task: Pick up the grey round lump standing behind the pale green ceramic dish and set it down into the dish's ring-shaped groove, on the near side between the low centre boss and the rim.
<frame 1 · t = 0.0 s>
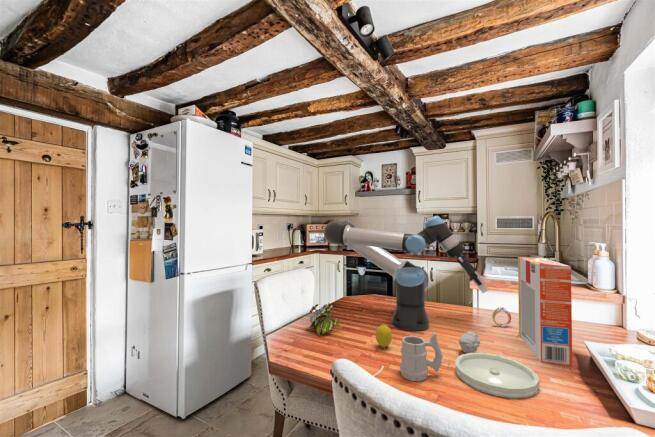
hand: (484, 288, 126), 15 cm above the table, tool tilted 35°, fingers open, 13 cm apart
ring: (501, 327, 123), on the table
grey round lump: (469, 353, 98), on the table
cereal box: (542, 349, 101), on the table
leafy green plant: (324, 330, 120), on the table
groove dish: (494, 377, 83), on the table
mug: (421, 375, 84), on the table
lemon: (383, 348, 103), on the table
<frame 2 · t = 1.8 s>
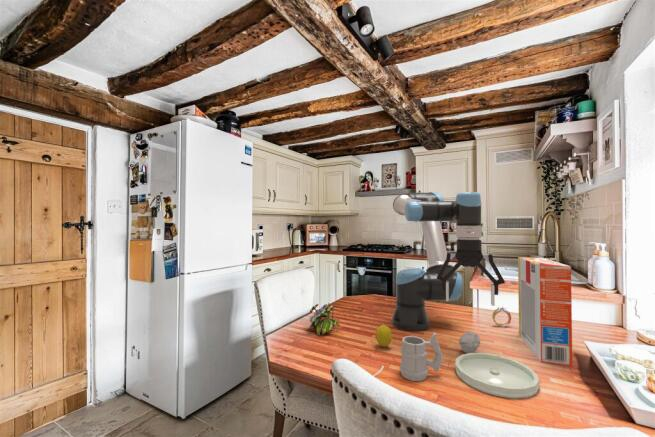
hand: (469, 302, 98), 17 cm above the table, tool pointing down, fingers open, 13 cm apart
nothing on the table moved.
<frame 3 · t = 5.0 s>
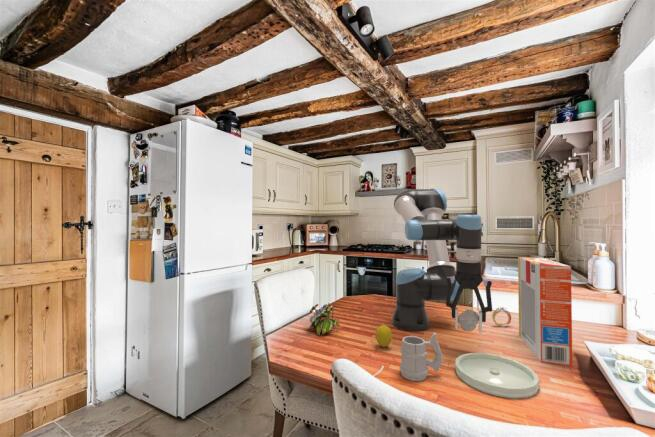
hand: (468, 329, 99), 8 cm above the table, tool pointing down, fingers closed on grey round lump, 6 cm apart
grey round lump: (468, 331, 99), point 7 cm above the table, touching gripper
everything else where it was.
when the fingers open (2 cm above the table, at t = 9.5 s): grey round lump stays where it is, resting on groove dish.
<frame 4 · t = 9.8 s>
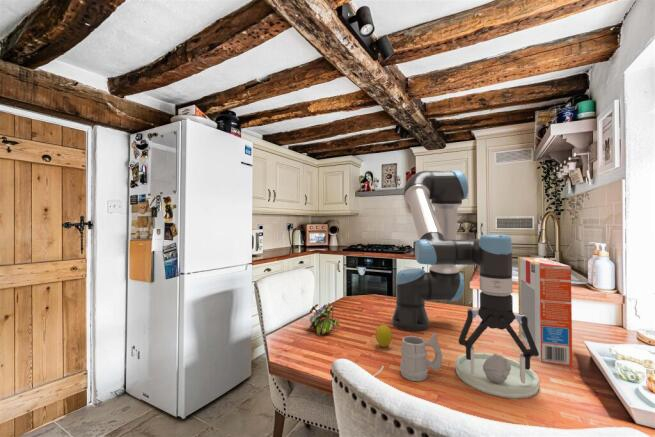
hand: (496, 376, 78), 3 cm above the table, tool pointing down, fingers open, 11 cm apart
grey round lump: (496, 383, 78), point 1 cm above the table, touching groove dish
everything else where it was.
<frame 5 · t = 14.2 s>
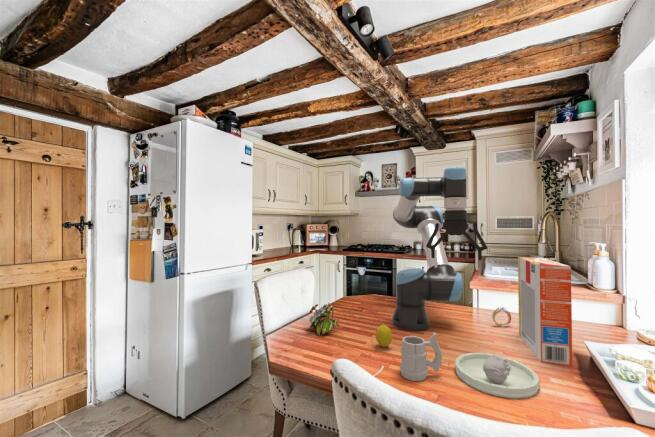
hand: (455, 268, 107), 27 cm above the table, tool pointing down, fingers open, 13 cm apart
nothing on the table moved.
at the end: grey round lump inside the target area on the groove dish (0.2 cm from its centre), point 1.0 cm above the groove dish's base; grey round lump tilted 0°; the gripper is holding nothing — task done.
